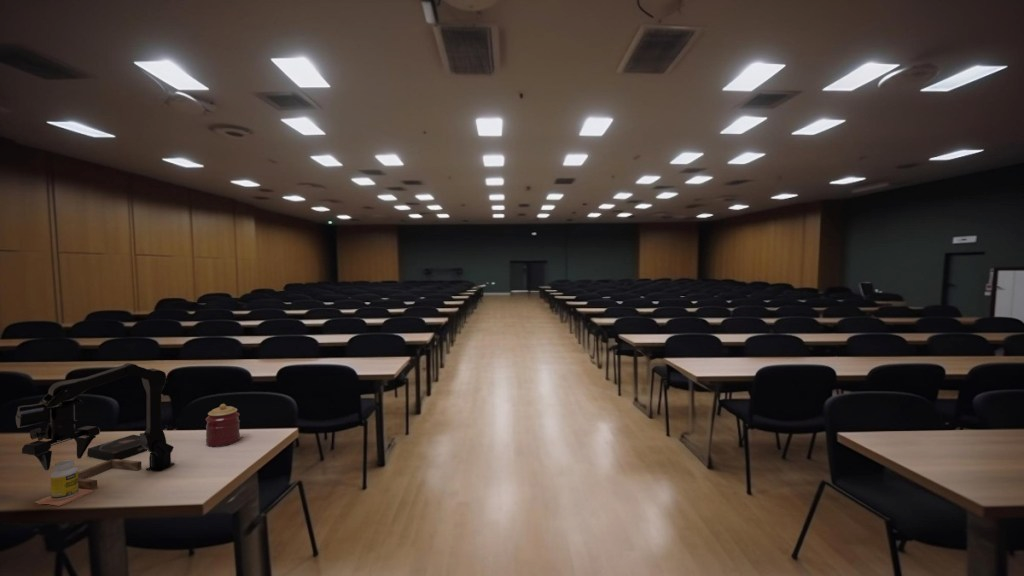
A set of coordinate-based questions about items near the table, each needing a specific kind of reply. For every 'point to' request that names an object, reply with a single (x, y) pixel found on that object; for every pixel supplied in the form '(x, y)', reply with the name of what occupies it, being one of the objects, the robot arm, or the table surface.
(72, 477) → the pill bottle
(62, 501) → the terracotta mat
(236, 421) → the canister
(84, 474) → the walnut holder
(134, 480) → the table surface
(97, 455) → the portable cd player
